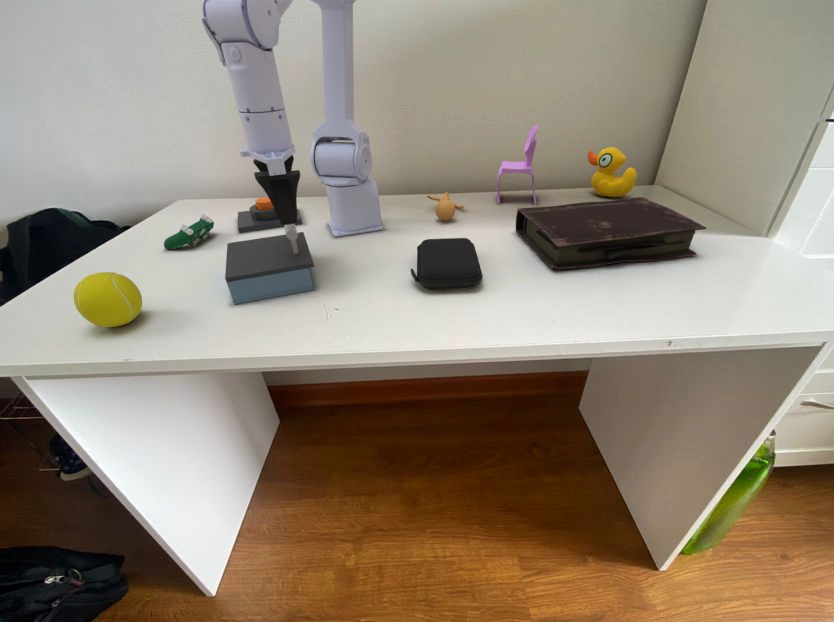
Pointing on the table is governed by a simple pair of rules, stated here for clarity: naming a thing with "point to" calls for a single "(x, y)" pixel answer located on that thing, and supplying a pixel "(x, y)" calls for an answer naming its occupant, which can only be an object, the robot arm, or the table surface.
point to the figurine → (445, 207)
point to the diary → (606, 232)
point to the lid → (268, 255)
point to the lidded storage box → (270, 285)
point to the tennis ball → (107, 299)
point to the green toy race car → (190, 233)
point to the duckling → (611, 173)
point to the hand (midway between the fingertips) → (287, 215)
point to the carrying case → (447, 264)
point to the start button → (264, 204)
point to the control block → (260, 220)
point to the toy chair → (521, 166)
